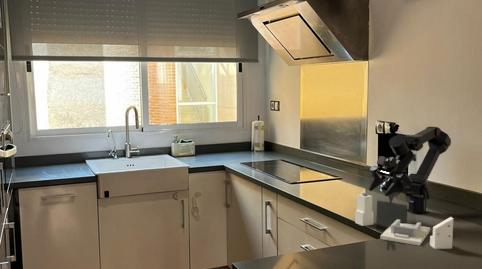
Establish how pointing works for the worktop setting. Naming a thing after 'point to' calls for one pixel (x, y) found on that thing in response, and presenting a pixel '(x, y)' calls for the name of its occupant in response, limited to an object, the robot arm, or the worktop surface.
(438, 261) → the worktop surface
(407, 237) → the rail mount
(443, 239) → the white angled block
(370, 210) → the block
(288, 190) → the worktop surface
